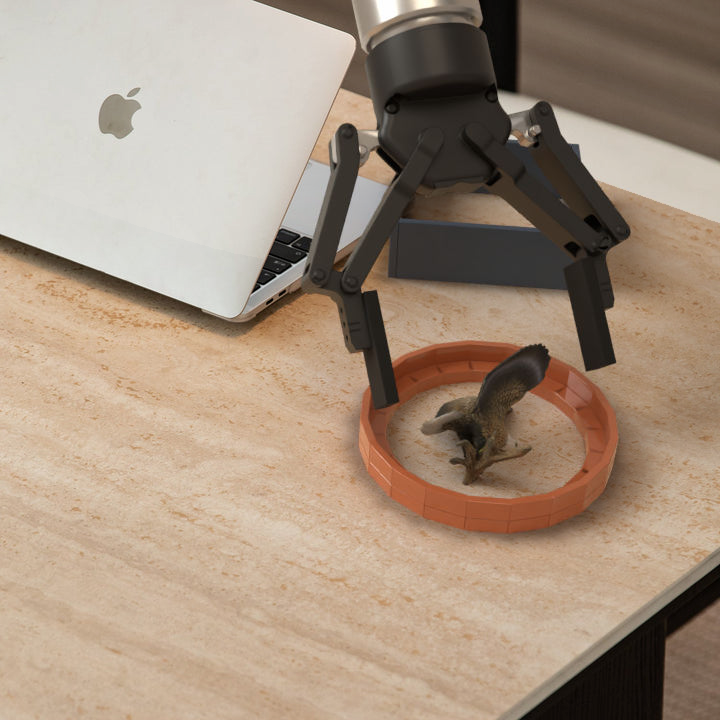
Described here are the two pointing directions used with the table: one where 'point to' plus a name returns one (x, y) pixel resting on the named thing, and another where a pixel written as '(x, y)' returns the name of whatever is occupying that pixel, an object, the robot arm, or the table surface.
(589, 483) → the faceted orange ring
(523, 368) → the eagle figurine
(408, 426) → the table surface
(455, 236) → the bin
